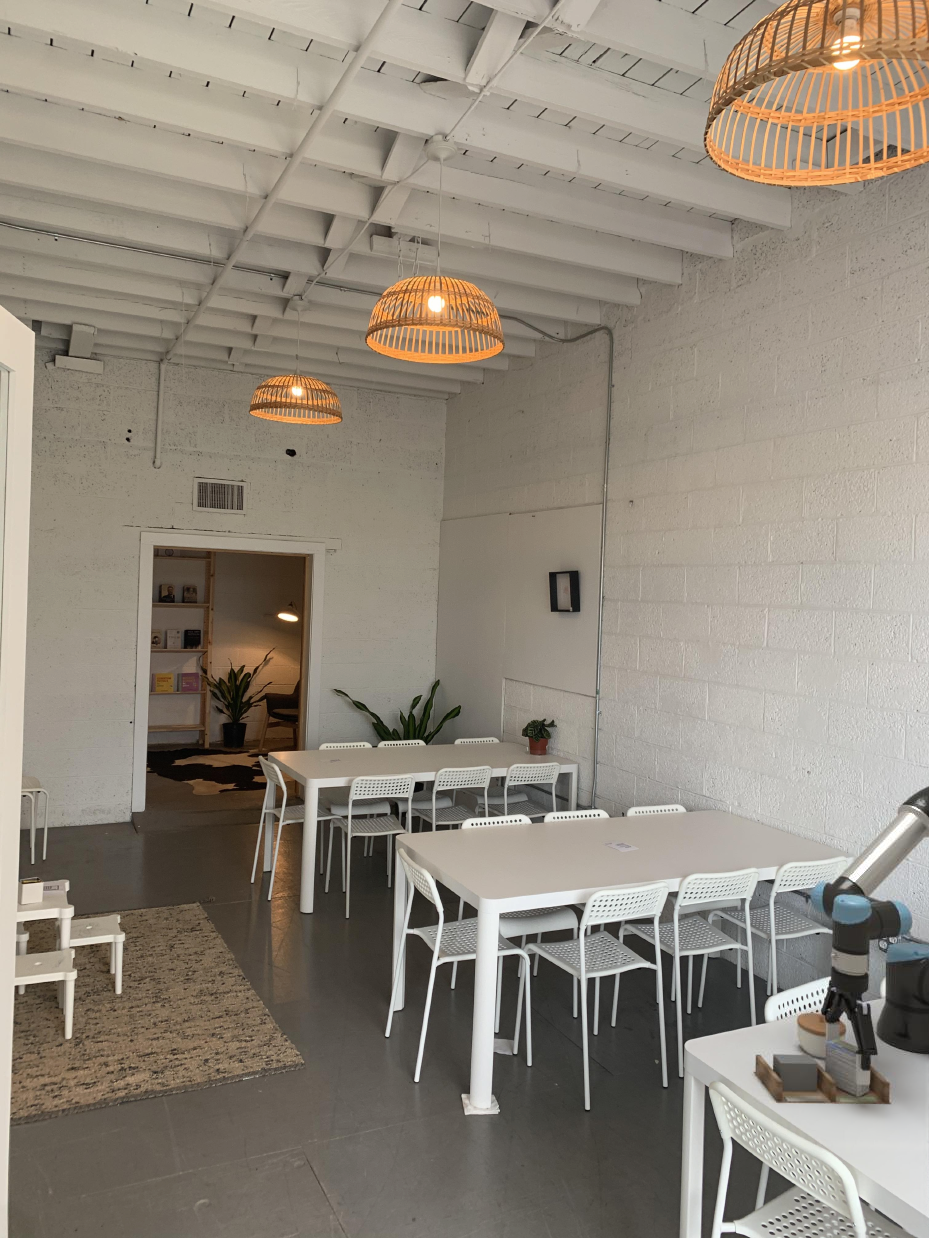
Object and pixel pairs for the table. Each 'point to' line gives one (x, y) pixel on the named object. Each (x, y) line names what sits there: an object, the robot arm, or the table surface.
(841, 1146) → the table surface
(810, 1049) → the lidded jar
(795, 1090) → the rubber block
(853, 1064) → the medicine box
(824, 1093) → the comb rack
